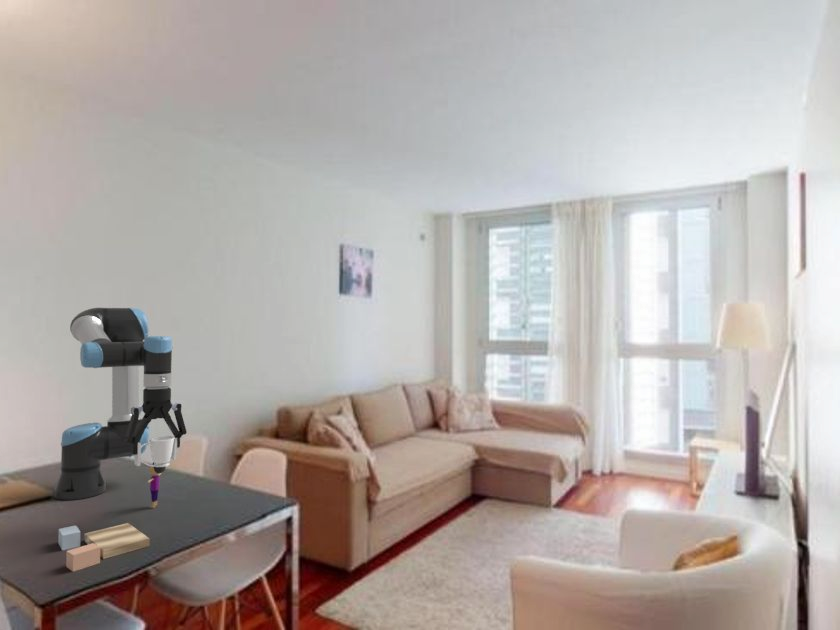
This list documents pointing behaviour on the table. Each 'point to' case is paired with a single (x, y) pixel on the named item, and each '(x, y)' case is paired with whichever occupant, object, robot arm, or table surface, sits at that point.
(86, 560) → the terracotta brick
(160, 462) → the cup
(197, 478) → the table surface
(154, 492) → the toy
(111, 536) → the oak board
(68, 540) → the slate brick
